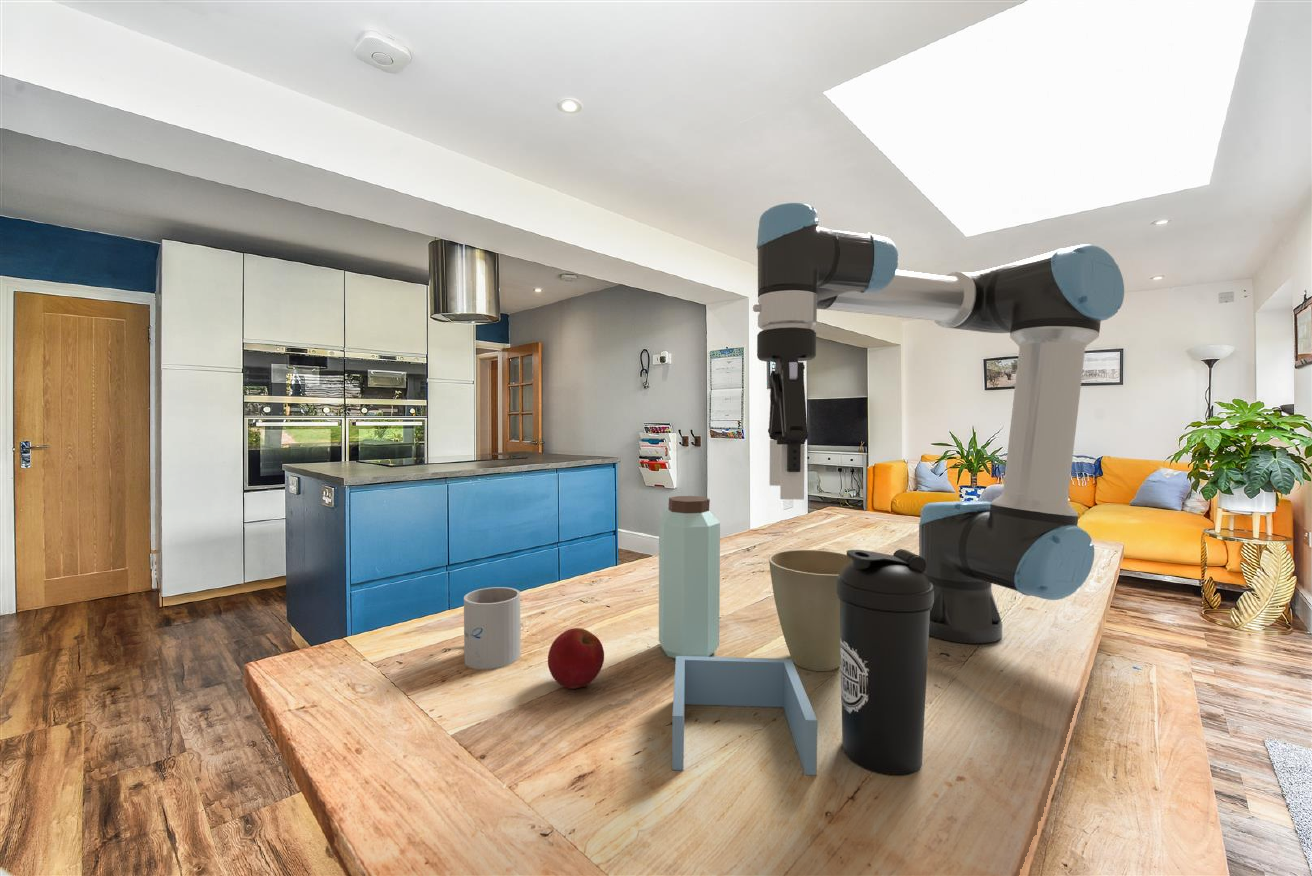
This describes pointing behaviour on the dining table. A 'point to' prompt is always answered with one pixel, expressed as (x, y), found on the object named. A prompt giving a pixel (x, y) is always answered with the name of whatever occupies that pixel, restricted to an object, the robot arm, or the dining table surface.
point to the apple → (575, 658)
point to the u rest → (744, 697)
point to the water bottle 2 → (884, 659)
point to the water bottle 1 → (689, 578)
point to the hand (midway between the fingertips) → (785, 491)
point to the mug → (492, 627)
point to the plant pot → (809, 605)
